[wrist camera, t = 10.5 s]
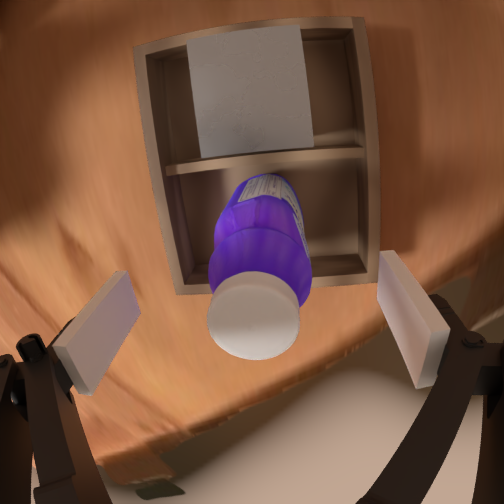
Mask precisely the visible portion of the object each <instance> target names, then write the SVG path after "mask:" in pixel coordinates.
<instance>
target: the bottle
mask: <svg viewBox="0 0 504 504" xmlns="http://www.w3.org/2000/svg"><path fill="white" fill-rule="evenodd" d="M208 278H209V284H210V288H211V290H212V293H213V296H212V299H211V303H210V306H209V309H208V313H207V326H208V330H209V332H210V335H211V336H212V338H213V339H214V341H215V342H216V343H217V344H218V345H219V346H220V347H221V348H222V349H224V350H225V351H227V352H228V353H230V354H232V355H234V356H237V357H240V358H244V359H250V360H263V359H268V358H272V357H275V356H277V355H279V354H282V353H283V352H284V351H286V350H287V349H288V348H289V347H290V346H291V345H292V344H293V343H294V342H295V340H296V338H297V335H298V333H299V329H300V317H299V308H300V307H301V306H302V305H303V304H304V302H305V301H306V299H307V297H308V295H309V293H310V288H311V284H312V268H311V261H310V254H309V249H308V245H307V242H306V239H305V233H304V219H303V213H302V209H301V205H300V202H299V200H298V197H297V195H296V192H295V190H294V189H293V187H292V186H291V184H290V183H289V182H288V181H287V180H286V179H285V178H284V177H282V176H280V175H278V174H260V175H257V176H254V177H251V178H249V179H248V180H246V181H244V182H242V183H241V184H240V185H239V186H238V187H237V188H236V190H235V192H234V193H233V195H232V197H231V198H230V200H229V202H228V203H227V205H226V207H225V209H224V210H223V212H222V213H221V215H220V217H219V219H218V221H217V223H216V227H215V233H214V252H213V254H212V255H211V257H210V261H209V268H208Z"/></svg>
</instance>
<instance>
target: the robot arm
mask: <svg viewBox="0 0 504 504" xmlns="http://www.w3.org/2000/svg"><path fill="white" fill-rule="evenodd" d="M377 300H378V302H379V305H380V307H381V309H382V311H383V313H384V315H385V317H386V320H387V322H388V324H389V326H390V328H391V331H392V333H393V335H394V337H395V340H396V342H397V344H398V347H399V349H400V351H401V354H402V356H403V358H404V361H405V363H406V365H407V368H408V370H409V373H410V375H411V378H412V380H413V383H414V385H415V388H416V389H418V388H423V387H428V386H433V387H432V389H431V392H430V393H429V395H428V397H427V399H426V401H425V403H424V405H423V407H422V408H421V410H420V412H419V414H418V416H417V417H416V419H415V421H414V423H413V424H412V426H411V428H410V430H409V431H408V433H407V434H406V436H405V438H404V440H403V441H402V443H401V444H400V446H399V447H398V449H397V451H396V452H395V454H394V455H393V457H392V458H391V460H390V461H389V463H388V464H387V465H386V467H385V468H384V470H383V471H382V473H381V474H380V476H379V477H378V478H377V480H376V481H375V482H374V484H373V485H372V487H371V488H370V489H369V491H368V492H367V493H366V494H365V495H364V496H363V497H362V498H360V499H359V500H358V501H357V503H356V504H421V502H422V501H423V499H424V497H425V495H426V494H427V492H428V490H429V488H430V487H431V485H432V483H433V481H434V479H435V478H436V476H437V474H438V472H439V470H440V468H441V466H442V464H443V462H444V460H445V458H446V456H447V454H448V452H449V449H450V447H451V445H452V443H453V441H454V439H455V436H456V434H457V432H458V429H459V427H460V425H461V422H462V420H463V417H464V414H465V412H466V409H467V406H468V404H469V401H470V399H471V396H472V395H483V418H482V433H481V444H480V454H479V462H478V470H477V476H476V483H475V488H474V494H473V499H472V504H504V341H503V343H487V342H486V340H485V338H484V337H483V336H482V335H480V334H479V333H476V332H474V331H468V330H467V329H466V327H465V326H464V324H463V323H462V322H461V320H460V319H459V317H458V316H457V315H456V314H455V312H454V311H453V309H452V308H451V307H450V305H449V304H448V302H447V301H446V300H445V299H444V298H442V297H440V296H439V295H437V294H433V295H427V294H426V292H425V291H424V290H423V288H422V287H421V285H420V284H419V283H418V281H417V280H416V279H415V277H414V276H413V275H412V273H411V272H410V271H409V269H408V268H407V267H406V265H405V264H404V263H403V261H402V260H401V259H400V257H399V256H398V255H397V253H396V252H395V251H394V250H387V251H380V256H379V274H378V289H377ZM140 314H141V312H140V309H139V306H138V303H137V300H136V297H135V294H134V291H133V287H132V284H131V281H130V277H129V274H128V271H116V272H115V273H114V274H113V275H112V276H111V277H110V278H109V279H108V280H107V282H106V283H105V284H104V285H103V286H102V287H101V288H100V289H99V291H98V292H97V293H96V294H95V295H94V296H93V297H92V298H91V300H90V301H89V302H88V303H87V304H86V305H85V307H84V308H83V309H82V310H81V311H80V312H79V314H78V315H77V316H76V317H74V318H73V319H71V320H70V321H69V322H68V323H67V324H66V325H65V326H64V327H63V330H61V331H60V332H59V335H57V336H56V337H55V338H54V339H53V341H52V342H51V343H50V344H49V346H48V347H47V348H46V347H45V345H44V343H43V341H42V339H41V337H40V335H39V334H29V335H27V336H25V337H23V338H22V339H21V340H19V342H18V343H17V345H16V349H17V350H18V352H19V354H20V356H21V358H22V359H23V361H24V362H17V363H16V362H15V360H14V358H13V356H12V355H10V354H5V355H1V356H0V504H31V473H32V471H31V470H32V456H33V454H34V459H35V464H36V469H37V474H38V479H39V483H40V486H39V487H36V488H34V490H33V494H34V499H35V503H36V504H113V503H112V501H111V499H110V497H109V495H108V492H107V490H106V488H105V485H104V483H103V481H102V478H101V476H100V474H99V471H98V469H97V466H96V464H95V461H94V458H93V456H92V453H91V450H90V448H89V445H88V442H87V439H86V436H85V433H84V430H83V427H82V424H81V421H80V418H79V414H78V411H77V408H76V404H75V401H74V397H73V395H72V393H71V391H70V388H71V387H72V385H74V386H75V388H76V390H77V391H78V393H79V394H84V395H90V396H92V395H93V393H94V392H95V390H96V388H97V386H98V384H99V383H100V381H101V379H102V377H103V376H104V374H105V372H106V370H107V369H108V367H109V365H110V364H111V362H112V360H113V358H114V357H115V355H116V353H117V352H118V350H119V348H120V347H121V345H122V343H123V342H124V340H125V338H126V337H127V335H128V333H129V332H130V330H131V328H132V327H133V325H134V323H135V322H136V320H137V319H138V317H139V315H140ZM437 375H438V377H437ZM436 377H437V379H436ZM435 380H436V381H435ZM434 382H435V383H434ZM11 399H12V400H13V403H12V400H11Z"/></svg>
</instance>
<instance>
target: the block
mask: <svg viewBox="0 0 504 504" xmlns="http://www.w3.org/2000/svg"><path fill="white" fill-rule="evenodd" d="M186 43H187V52H188V61H189V69H190V77H191V85H192V93H193V101H194V108H195V116H196V123H197V130H198V137H199V144H200V151H201V158H208V157H216V156H223V155H231V154H240V153H249V152H258V151H269V150H280V149H292V148H305V147H314V139H313V129H312V119H311V109H310V100H309V91H308V83H307V75H306V67H305V60H304V53H303V46H302V39H301V32H300V26H299V25H285V26H273V27H263V28H254V29H246V30H239V31H232V32H226V33H220V34H214V35H209V36H204V37H199V38H194V39H189V40H186Z"/></svg>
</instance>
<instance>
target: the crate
mask: <svg viewBox="0 0 504 504" xmlns="http://www.w3.org/2000/svg"><path fill="white" fill-rule="evenodd" d="M285 25H299V26H300V32H301V39H302V46H303V53H304V60H305V67H306V75H307V83H308V91H309V100H310V109H311V119H312V129H313V139H314V147H305V148H292V149H280V150H269V151H258V152H249V153H240V154H231V155H223V156H216V157H208V158H201V151H200V144H199V137H198V130H197V123H196V116H195V108H194V101H193V93H192V85H191V77H190V69H189V61H188V52H187V43H186V40H189V39H194V38H199V37H204V36H209V35H214V34H220V33H226V32H232V31H239V30H246V29H254V28H263V27H273V26H285ZM133 54H134V64H135V73H136V82H137V91H138V99H139V106H140V114H141V121H142V128H143V134H144V141H145V147H146V153H147V159H148V165H149V171H150V176H151V182H152V187H153V193H154V198H155V203H156V208H157V213H158V218H159V223H160V227H161V232H162V237H163V241H164V246H165V250H166V255H167V259H168V263H169V267H170V272H171V276H172V280H173V284H174V288H175V292H176V295H195V294H213V293H212V290H211V288H210V284H209V278H208V268H209V261H210V257H211V255H212V254H213V252H214V233H215V227H216V223H217V221H218V219H219V217H220V215H221V213H222V212H223V210H224V209H225V207H226V205H227V203H228V202H229V200H230V198H231V197H232V195H233V193H234V192H235V190H236V188H237V187H238V186H239V185H240V184H241V183H242V182H244V181H246V180H248V179H249V178H251V177H254V176H257V175H260V174H278V175H280V176H282V177H284V178H285V179H286V180H287V181H288V182H289V183H290V184H291V186H292V187H293V189H294V190H295V192H296V195H297V197H298V200H299V202H300V205H301V209H302V213H303V219H304V233H305V239H306V242H307V245H308V249H309V254H310V261H311V268H312V284H311V288H318V287H331V286H344V285H356V284H367V283H378V274H379V256H380V225H381V187H380V155H379V137H378V122H377V110H376V99H375V90H374V81H373V73H372V65H371V58H370V51H369V44H368V38H367V32H366V26H365V21H364V17H299V18H283V19H272V20H262V21H253V22H245V23H238V24H232V25H225V26H219V27H214V28H208V29H203V30H198V31H193V32H189V33H184V34H180V35H176V36H172V37H168V38H164V39H160V40H156V41H153V42H149V43H146V44H142V45H139V46H136V47H133Z"/></svg>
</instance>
